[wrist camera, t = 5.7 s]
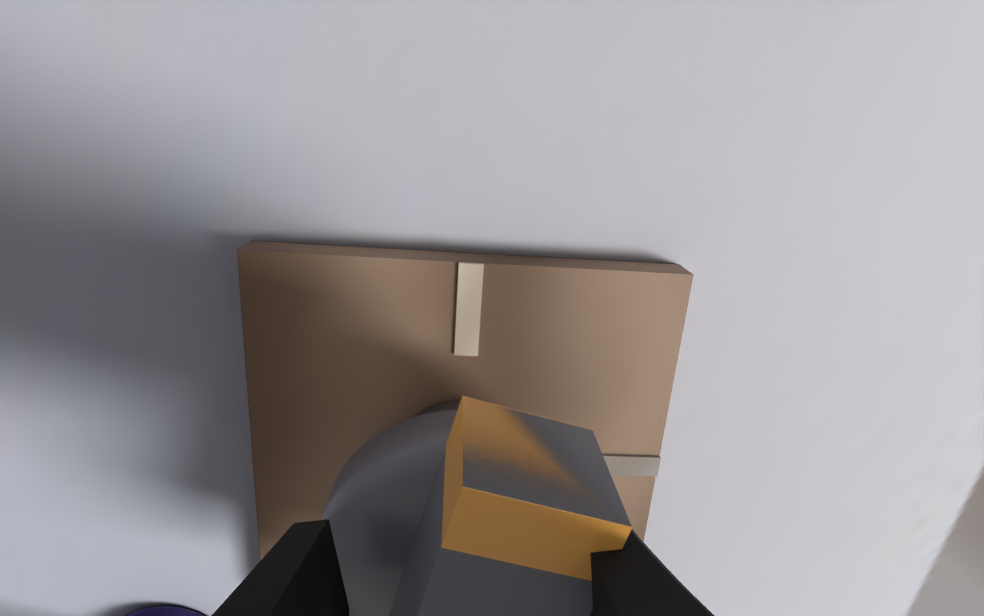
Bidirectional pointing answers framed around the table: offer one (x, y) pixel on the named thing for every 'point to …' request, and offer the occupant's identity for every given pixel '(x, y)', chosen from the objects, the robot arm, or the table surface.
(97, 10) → the table surface
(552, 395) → the knob base
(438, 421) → the twist knob
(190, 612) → the toy lamp
